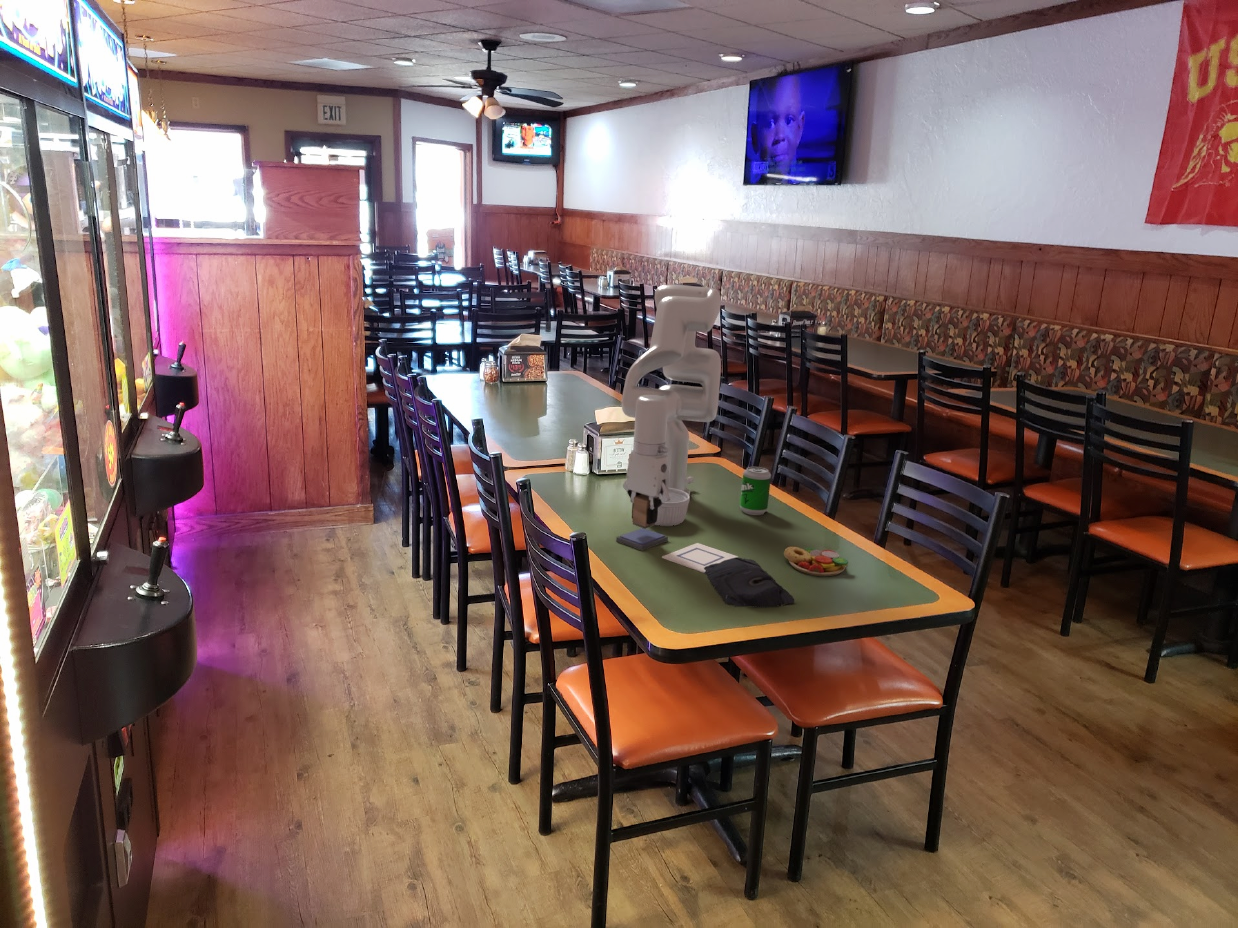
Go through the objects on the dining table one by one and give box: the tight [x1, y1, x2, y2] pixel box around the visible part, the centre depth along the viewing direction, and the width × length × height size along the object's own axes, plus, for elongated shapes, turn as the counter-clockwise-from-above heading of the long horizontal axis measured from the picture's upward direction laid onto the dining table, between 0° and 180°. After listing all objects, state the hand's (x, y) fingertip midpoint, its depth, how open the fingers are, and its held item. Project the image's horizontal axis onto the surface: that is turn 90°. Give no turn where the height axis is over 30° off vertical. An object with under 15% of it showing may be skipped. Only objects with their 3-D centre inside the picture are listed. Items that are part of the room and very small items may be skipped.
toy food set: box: [783, 546, 849, 577], centre depth 206 cm, size 13×13×3 cm
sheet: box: [661, 542, 739, 574], centre depth 207 cm, size 14×12×1 cm
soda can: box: [739, 466, 772, 516], centre depth 242 cm, size 8×8×12 cm
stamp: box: [631, 494, 656, 529], centre depth 214 cm, size 4×4×7 cm
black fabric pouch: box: [704, 556, 795, 608], centre depth 192 cm, size 15×22×5 cm
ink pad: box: [615, 528, 669, 551], centre depth 215 cm, size 10×8×1 cm
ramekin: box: [654, 488, 691, 527], centre depth 231 cm, size 13×13×7 cm
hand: (644, 519), depth 215 cm, fingers closed on stamp, 4 cm apart
